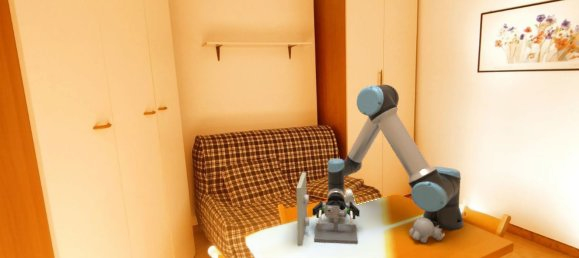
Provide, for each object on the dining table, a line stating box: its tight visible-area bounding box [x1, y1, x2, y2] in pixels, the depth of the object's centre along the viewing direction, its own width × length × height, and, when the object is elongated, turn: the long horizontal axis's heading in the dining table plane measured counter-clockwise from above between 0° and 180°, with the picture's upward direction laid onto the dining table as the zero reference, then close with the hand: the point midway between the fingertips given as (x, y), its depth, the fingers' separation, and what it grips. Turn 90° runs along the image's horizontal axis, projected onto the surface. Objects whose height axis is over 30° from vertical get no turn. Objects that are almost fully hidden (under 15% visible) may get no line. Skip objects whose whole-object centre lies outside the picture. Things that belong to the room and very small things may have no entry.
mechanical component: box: [322, 205, 349, 232], centre depth 132 cm, size 3×10×10 cm, turn 78°
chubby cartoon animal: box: [408, 216, 445, 244], centre depth 125 cm, size 7×12×8 cm, turn 86°
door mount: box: [296, 172, 359, 246], centre depth 131 cm, size 22×20×22 cm
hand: (335, 220), depth 128 cm, fingers open, 11 cm apart
